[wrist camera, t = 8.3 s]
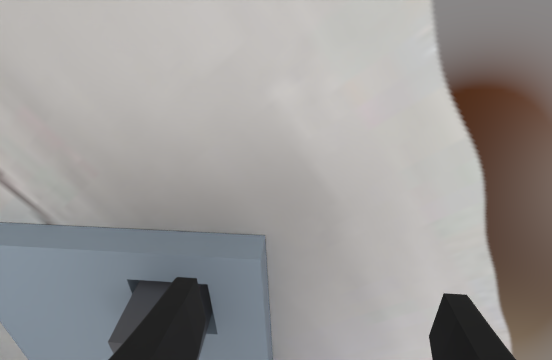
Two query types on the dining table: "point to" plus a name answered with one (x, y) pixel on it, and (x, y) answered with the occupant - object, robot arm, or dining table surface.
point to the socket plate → (126, 287)
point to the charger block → (144, 302)
